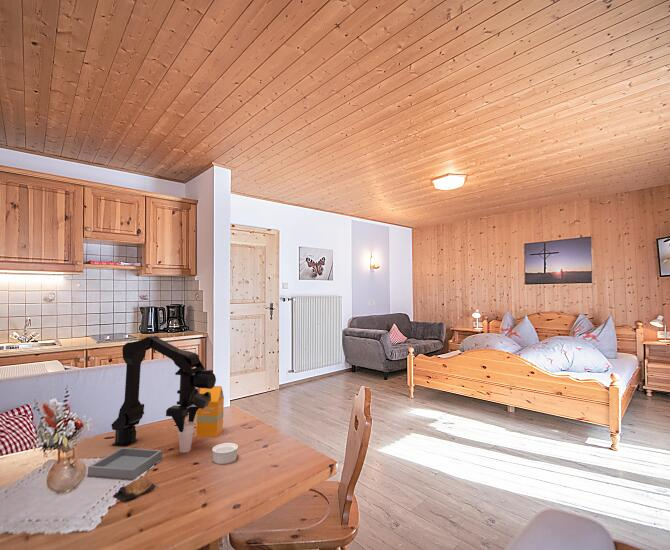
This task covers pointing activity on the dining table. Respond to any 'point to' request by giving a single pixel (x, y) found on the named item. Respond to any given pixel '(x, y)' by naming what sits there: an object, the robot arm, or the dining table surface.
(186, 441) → the smoothie
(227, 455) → the ramekin
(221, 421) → the orange juice
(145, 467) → the gray square tray
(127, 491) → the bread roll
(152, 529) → the dining table surface
